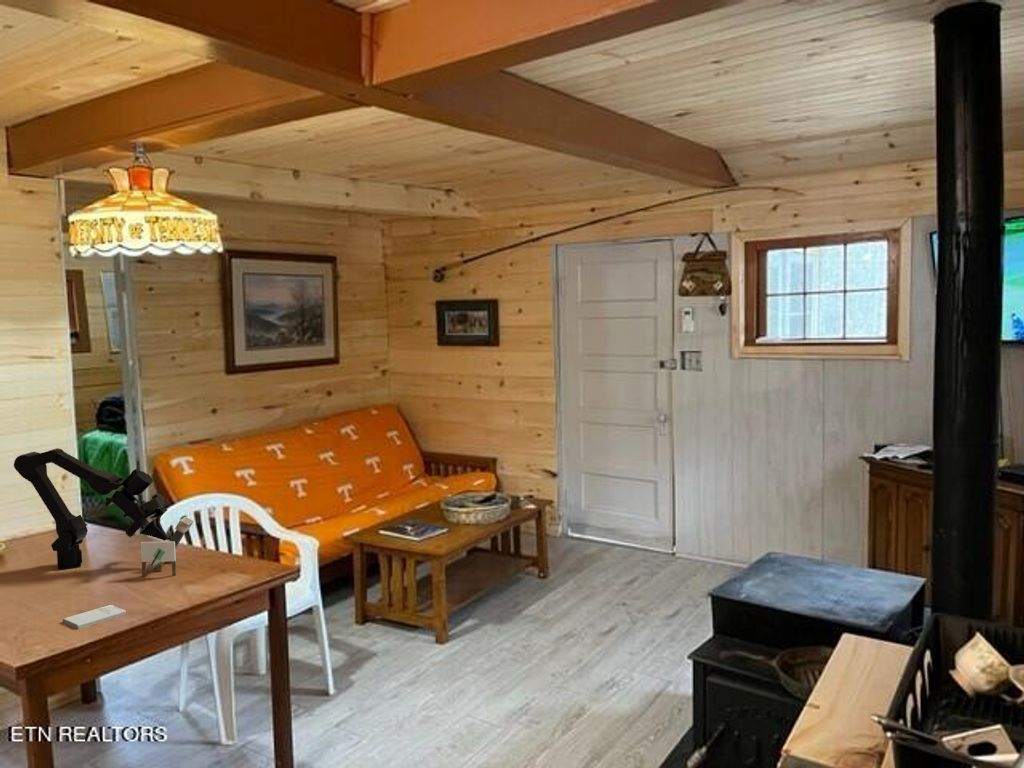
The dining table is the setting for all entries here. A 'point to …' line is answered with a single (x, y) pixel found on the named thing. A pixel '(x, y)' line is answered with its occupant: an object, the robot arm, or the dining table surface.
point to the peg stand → (160, 567)
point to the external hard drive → (94, 616)
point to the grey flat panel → (152, 548)
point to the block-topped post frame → (175, 537)
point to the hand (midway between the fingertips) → (166, 539)
